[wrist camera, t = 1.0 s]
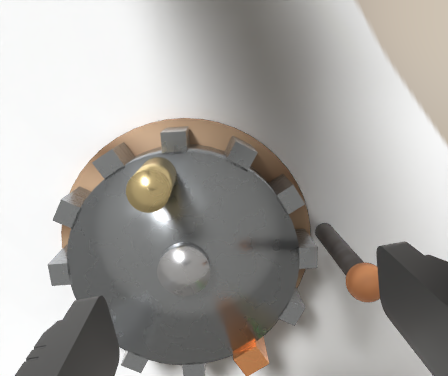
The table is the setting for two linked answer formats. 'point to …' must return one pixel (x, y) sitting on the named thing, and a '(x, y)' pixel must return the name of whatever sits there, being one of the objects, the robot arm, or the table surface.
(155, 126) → the sprocket base
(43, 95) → the table surface
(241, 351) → the sprocket wheel
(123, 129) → the table surface
